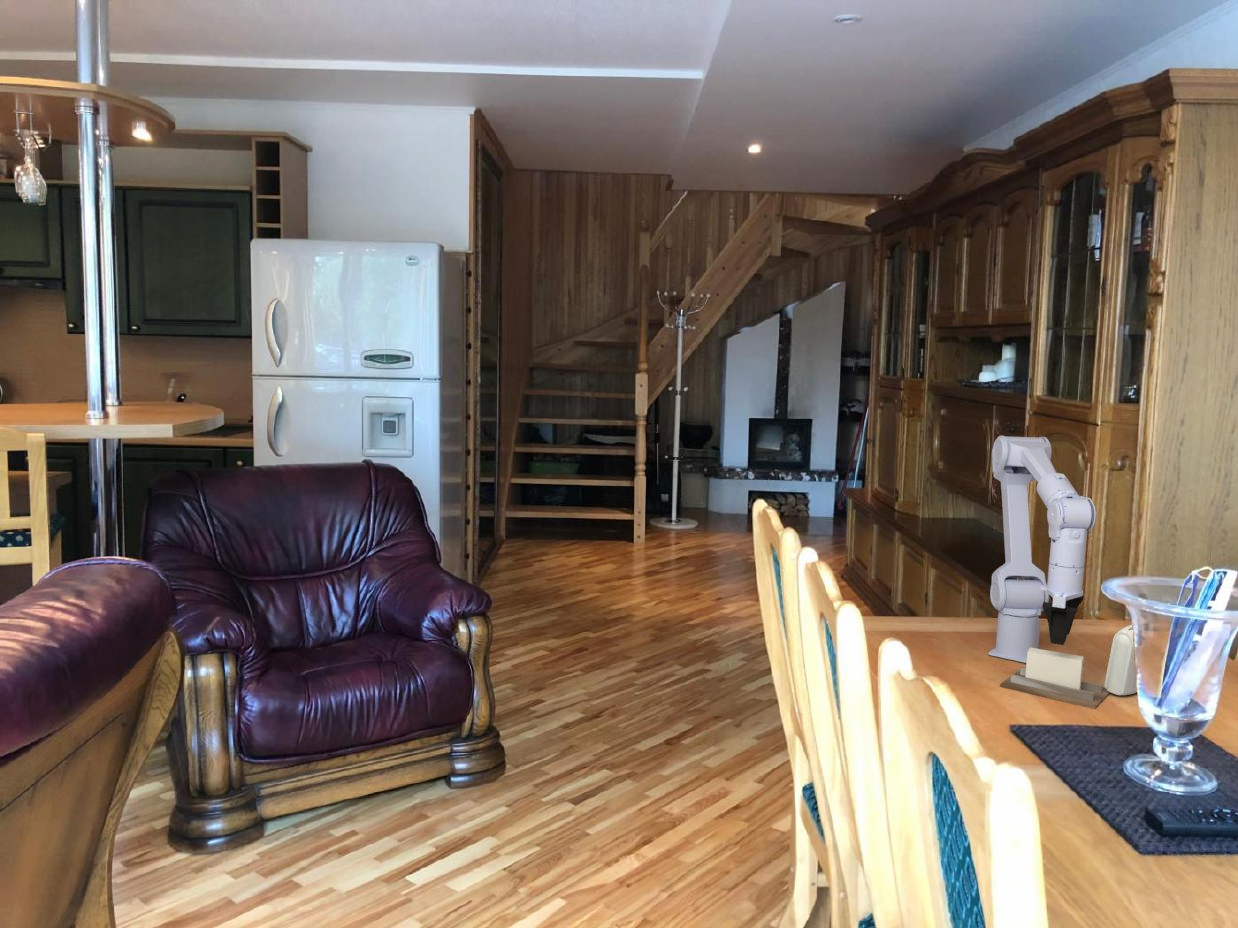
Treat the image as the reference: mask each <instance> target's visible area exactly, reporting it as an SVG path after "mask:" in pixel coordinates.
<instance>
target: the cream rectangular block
mask: <svg viewBox="0 0 1238 928" xmlns="http://www.w3.org/2000/svg"><path fill="white" fill-rule="evenodd" d="M1025 665H1026V667H1025V668H1026V676H1025V677H1027V678H1031V679H1036V680H1040V681H1045V682H1049V683H1053V684H1058V685H1062V686H1067V687H1071V688H1075V689H1080V690H1081V681H1083V680H1082V679H1083V667H1084V656H1083V655H1076V654H1071V653H1065V652H1059V651H1054V650H1048V649H1047V650H1046V649H1041V648H1038V649H1036V648H1029V650H1028V652H1027V663H1025Z"/></svg>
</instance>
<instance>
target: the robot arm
mask: <svg viewBox="0 0 1238 928" xmlns="http://www.w3.org/2000/svg"><path fill="white" fill-rule="evenodd" d="M1051 458H1052V445H1051V442H1050V440H1049V439H1048V438H1047V437H1046V436H1040V437H1032V436H1031V437H1030V436H1005V435H999V436H997V438H996V439H995V440H994V442H993V446H992V450H991V461H992V465H991V466H992V472H993V478H994V479H995V480H997V481H999V482H1000V489H1001V490H1000V491H1001V502H1002V503H1001V507H1002V523H1003V524H1002V525H1003V540H1004V541H1003V542H1004V555H1005V556H1004V557H1005V561H1004V562H1005V563H1003V565H1001V566H999V567H998V568H996V570H995V571H993V573H992V574H991V584H990V590H989V592H990V593H989V594H990V595H989V597H990V598H989V599H990V603H991V604H992V606H993V607H994V609H995V610H996V611H998V613H997V614H998V616H997V626H996V640H995V648H992V649H991V650H990V651H989V652H988V654H987V655H988V656H992V657H996V658H997V657H998V658H1001V659H1006V660H1011V661H1014V662H1015V661H1016V662H1019V663H1024V664H1027V652H1028V650H1029V648H1036V649H1039V645H1040V643H1039V642H1040V633H1041V632H1040V631H1041V619H1040V618H1039V616H1041V615H1042V612H1044V614H1045V616H1046V620H1047V624H1048V625H1047V626H1048V635H1049V639H1050V643H1051V644H1054V645H1060V646H1064V645H1065V643H1066V640H1067V637H1068V636H1069V635H1070V632H1071V629H1072V628H1073V623H1074V619H1075V616H1076V613H1077V612H1078V611H1079V606H1080V604H1081V603H1082V602H1083V600H1084V598H1085V596H1084V590H1083V585H1084V584H1083V583H1084V573H1085V562H1086V561H1085V560H1086V552H1087V551H1086V549H1087V539H1088V538H1087V537H1088V531H1091V530H1092V528H1093V527H1094V525H1095V523H1096V507H1095V505H1094V502H1093V500H1092V498H1090V497H1086V496H1085V497H1084V496H1082V495H1079V493H1078V492H1077V491H1076V489H1075V487H1074V486H1073V484H1072V483H1071V482H1070V480H1069V479H1068V477H1067V476H1066V475H1065V474H1064V473H1060V472H1057V470H1056V468H1055V467H1054V465H1053V463H1052V461H1051V460H1052V459H1051ZM1034 481H1036V482H1037V486H1036V493H1038V496H1039V497H1040V499H1041V501H1042V502H1043V504H1044V506H1045V507H1046V508H1047V510H1046V519H1047V524H1048V537H1049V538H1050V549H1049V559H1048V560H1049V561H1048V573H1047V579H1046V574H1045V572H1044V571H1043V570H1042V569H1040V568H1039V567H1038V566H1036V565H1035V564H1034V563H1033V557H1032V544H1031V542H1032V541H1031V527H1030V510H1029V508H1030V507H1029V494H1028V493H1029V492H1028V485H1029V484H1030V483H1031V482H1034ZM1049 601H1051V602H1049Z"/></svg>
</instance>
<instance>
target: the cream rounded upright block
mask: <svg viewBox="0 0 1238 928" xmlns="http://www.w3.org/2000/svg"><path fill="white" fill-rule="evenodd" d="M1132 625H1133V624H1129V625H1126V626H1125V627H1122V628H1121V629H1120V630H1118V631H1117V632H1116V633H1115V635H1114V636H1113V638H1112V644H1111V648H1110V654H1109V657H1108V663H1107V669H1106V674H1105V680H1104V685H1103V687H1105V688H1106V690H1107V691H1108V692H1110V694H1114V695H1117V696H1127V695H1132V694H1136V673H1135V661H1134V642H1133V630H1132Z"/></svg>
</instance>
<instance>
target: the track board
mask: <svg viewBox="0 0 1238 928" xmlns="http://www.w3.org/2000/svg"><path fill="white" fill-rule="evenodd" d="M1025 676H1026V667H1020V669H1019V670H1017V671H1016V672H1015V673H1012V674H1011V675H1010V676H1009V677H1007V678H1006V679H1005V680H1004V681H1003V682H1000V684H999V687H1001V688H1005V689H1009V690H1012V691H1018V692H1022V693H1027V694H1030V695H1034V696H1038V697H1043V698H1048V699H1052V700H1056V701H1061V702H1064V703H1069V704H1072V705H1077V706H1081V707H1086V708H1089V709H1093V710H1095V709H1097V707H1098V706H1100V704H1101V703H1103V701H1104V700H1105V699H1106V698H1107V697H1108V696H1109V695H1110V694H1111V693H1110V692H1108V691H1107V690H1106V688H1105V687H1104V685H1103V684H1100V683H1095V682H1090V681H1086V680H1082V681H1081V690H1080V689H1075V688H1071V687H1067V686H1062V685H1058V684H1053V683H1049V682H1045V681H1040V680H1036V679H1031V678H1027V677H1025Z"/></svg>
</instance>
